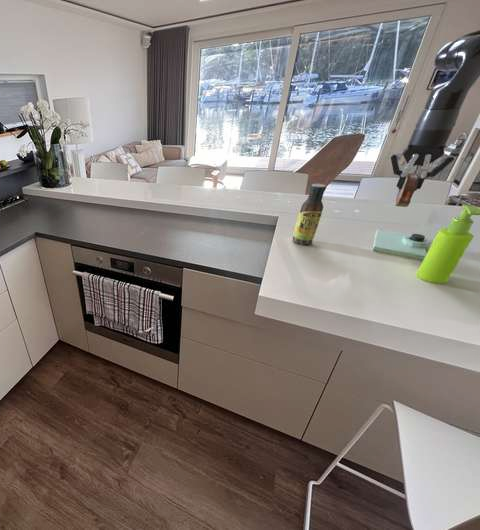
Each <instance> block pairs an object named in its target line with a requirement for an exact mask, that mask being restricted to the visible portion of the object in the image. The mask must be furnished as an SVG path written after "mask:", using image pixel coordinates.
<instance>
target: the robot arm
mask: <svg viewBox="0 0 480 530" xmlns="http://www.w3.org/2000/svg"><path fill="white" fill-rule="evenodd" d="M433 64H434V67H435V68H436V70H438V71H440V72H444V73H445V72H454V75H453V76H452V77H451V78H450V79H449V80H447V81H444V82H442V83H439V84H436V85H434V87H433V88H432V89H431V91H430V93H429V95H428V97H427V100H426V103H425V104H424V107H423V109H422V112H421V113H420V115H419V116H418V120H417V122H416V123H415V127H414V129H413V131H412V133H411V137H410V139H409V142H408V144H407V146H406V147H405V149H404V150H403V151H401V152H398V153H392V154H391V155H390V161H391V167H392V171H393V175H396V176H399V178H398V180H397V183H396V188H397V189H398V190H399V189H400V190H401V189H402V187H403V185H404V182H405V180H406V175H407V174H409V172H410V170H411V169H412V167H413V166H419V167H421V169H420V173H419V176H418V184H417V187H416V190H415V191H414V192H417V191H418V190H420V189H421V188H422V187H423V184H424V182H425V180H426V179H428V178H433V177H436V176H437V175H438V174H439V173H440V172H442V171H443V170H444V169H445V168H447V166H448V165H450V163H452V162H453V161H454V160H455V157H454V156H453V155H451V154H450V155H449V154H447V153H445V146H446V144H447V142H448V140H449V138H450V136H451V134H452V132H453V130H454V127H455V126H456V124H457V121H458V118H459V116H460V112H461V109H462V108H463V105H464V102H465V100H466V98H467V96H468V94H469V91H470V90H471V88H472V87H473V86H474V85H475V83H476V82H477V81H478V79H479V78H480V29H478V30H475V31H473V32H469V33H466V34H464V35H461V36H458V37H456V38H454V39H452V40H451V41H449V42H447V43H446V44H444V45H443V47H441V48H440V50H438V52H437V54H436V55H435V57H434V60H433ZM402 157H403V158H404V160H405V162H406V164H405V165H404V168H403V169H400V167H399V166H400V165H399V161H400V160H401V159H402ZM438 159H439V162H440V163H439V164H438V165H436V166H435V167H434V168H433V169H432V170H430V171H429V167H430V165H431V164H432V163H434V162H435V161H437V160H438Z"/></svg>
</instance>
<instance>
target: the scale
mask: <svg viewBox="0 0 480 530" xmlns="http://www.w3.org/2000/svg"><path fill="white" fill-rule="evenodd" d="M412 234H413V233H405V232H399V231H392V230H387V229H386V230H385V229H380V228H377V229H376V231H375V235H374V240H373V246H372V251H375V252H379V253H385V254H391V255H395V256H401V257H406V258H412V259H416V260H422V261H423V260H424V258H425V256H426V254H427V248H428V247H429V246H430V245H431V244H430V243H431V240H430V239H429V238H427V237H425V238H424V240H423V242H417V241H413V240H411V239H410V238H411V236H412Z"/></svg>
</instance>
